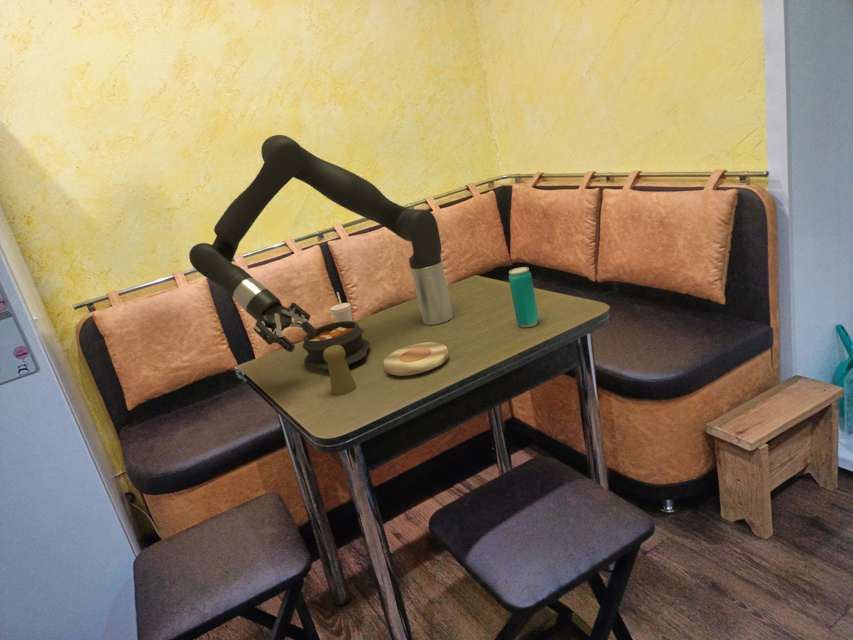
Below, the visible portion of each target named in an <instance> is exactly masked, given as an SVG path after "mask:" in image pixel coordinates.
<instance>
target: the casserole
mask: <svg viewBox="0 0 853 640" xmlns="http://www.w3.org/2000/svg"><path fill="white" fill-rule="evenodd" d="M315 329H316V330H317V332H318V333H317V335H316V337H315V338H312V337H310V336H309V335H308V334H307V333H306V335H305V336H304V337H303V344H302V349H303V350H305V351H306V352H307V355H306V357H305V358H304V361H303V362H304V365H306V366H308V367H312V368H319V369H322V370H325V371H329V368H328V363H327V362H326V361H325V360H324V357H323V352H324V350H325V349H326V348H328V347H330V346H334V345H340V346H342V347H343V348H344V350H345V361H346V363H347V365H348V366H349V365H352V364H355V363H357V362H359V361H360V360H362V359H364V358H366V357H367V355H368V354H367V353H368V350H369V348H370V345H371V343H370V342H369V341H368V340H366V339H363V337H362V335H363V333H364V329H363V328H362V327H361V326H360V325H359V324H358V322H356V321H354V320H352V321H342V322H336V321H335V322H332V323H329V324H325V325H322V326H319V327H317V328H315Z"/></svg>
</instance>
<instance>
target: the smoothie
mask: <svg viewBox="0 0 853 640" xmlns="http://www.w3.org/2000/svg"><path fill="white" fill-rule="evenodd" d="M336 296H337V298H338V302H339V304H335V305H334V306H333V305H332V306H331V308H330V313H332V315H333V318H334V320H335V323H336V322H342V321H353V315H352V304H351V303H350V302H342V300H341V296H340V293H339V291H337V292H336Z"/></svg>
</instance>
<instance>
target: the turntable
mask: <svg viewBox="0 0 853 640" xmlns="http://www.w3.org/2000/svg"><path fill="white" fill-rule="evenodd" d="M448 358H449V351H448V347H447V346H446V345H445V344H443V343H441V342H434V341H432V342H431V341H430V342H429V341H428V342H427V341H426V342H420V343H419V342H418V343H415V344H411V345H407V346H403V347H401V348H399V349H396V350H394V351H393V352H391V353H390V354H388V355H387V356H386V357H385V358H384V359H383V365H384V366H383V367H384V370H385V372H386V373H388V374H389V375H391V376H392V375H394V376H411V375H412V376H413V375H416V374H421V373H425V372H428V371H430V370H433V369H435V368H437V367H439V366H441V365H442V364H443V363H445V362H446V361H447V360H448Z"/></svg>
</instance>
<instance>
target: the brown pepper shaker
mask: <svg viewBox="0 0 853 640" xmlns="http://www.w3.org/2000/svg"><path fill="white" fill-rule="evenodd" d="M323 357H324V360H325V361H326V362H327V363H328V368H329V370H328V374H329V380H330V388H331V394H332V395H334V396H342V395H346V394H349V393H351V392H353V391H355V390H356V389H357V384H356V381H355V379H354V377H353V375H352V372H351V370H350V368H349V365H347V363H346V361H345V350H344V348H343V347H342V346H340V345H334V346H330V347H328V348H326V349H325V350H324V352H323Z"/></svg>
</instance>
